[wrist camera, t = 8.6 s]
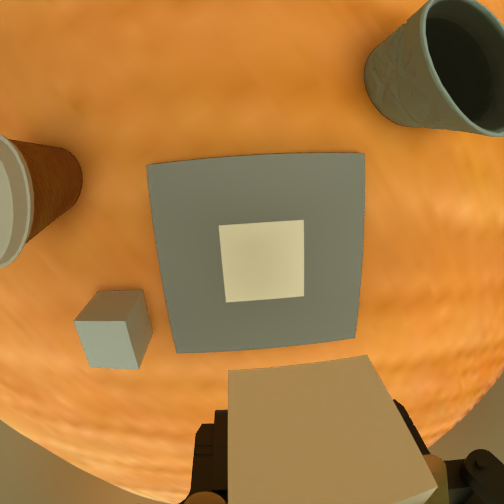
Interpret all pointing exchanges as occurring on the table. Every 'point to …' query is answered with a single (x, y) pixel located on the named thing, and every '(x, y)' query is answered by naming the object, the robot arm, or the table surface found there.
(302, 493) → the cream block
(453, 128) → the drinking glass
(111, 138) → the table surface
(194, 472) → the robot arm
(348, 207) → the board
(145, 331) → the blue grey block
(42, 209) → the disposable coffee cup
